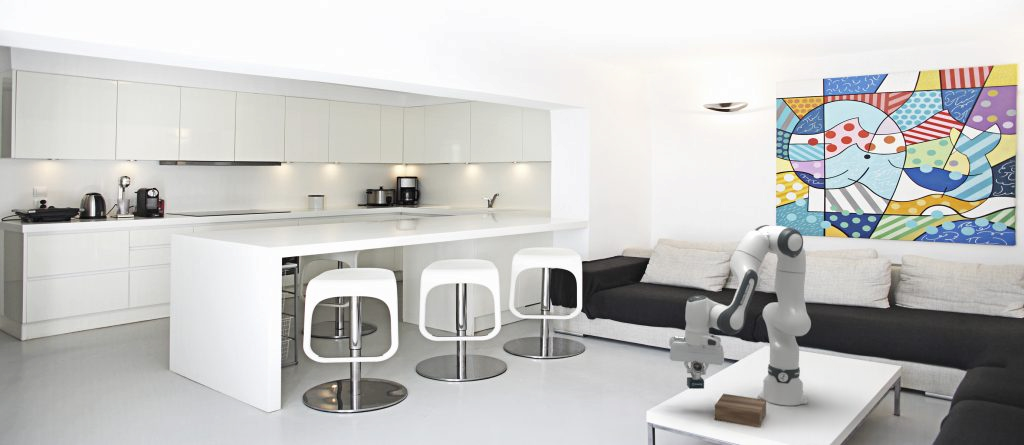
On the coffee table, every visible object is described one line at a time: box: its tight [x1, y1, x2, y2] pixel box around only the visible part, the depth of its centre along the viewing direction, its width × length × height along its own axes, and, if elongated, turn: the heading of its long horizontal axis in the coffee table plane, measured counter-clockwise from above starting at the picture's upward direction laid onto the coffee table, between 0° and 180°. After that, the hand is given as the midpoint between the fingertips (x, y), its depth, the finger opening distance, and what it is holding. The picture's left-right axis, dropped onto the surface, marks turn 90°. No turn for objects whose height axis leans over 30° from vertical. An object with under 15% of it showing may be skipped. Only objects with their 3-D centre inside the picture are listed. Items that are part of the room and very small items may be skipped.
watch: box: [686, 361, 706, 390], centre depth 279 cm, size 6×8×11 cm
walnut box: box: [713, 393, 767, 428], centre depth 273 cm, size 16×16×6 cm
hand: (696, 373), depth 279 cm, fingers closed on watch, 4 cm apart
